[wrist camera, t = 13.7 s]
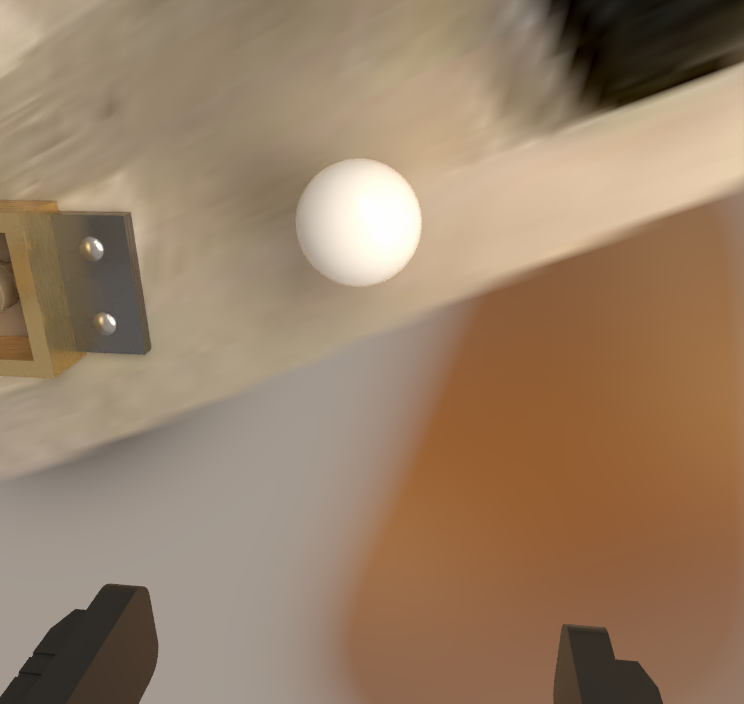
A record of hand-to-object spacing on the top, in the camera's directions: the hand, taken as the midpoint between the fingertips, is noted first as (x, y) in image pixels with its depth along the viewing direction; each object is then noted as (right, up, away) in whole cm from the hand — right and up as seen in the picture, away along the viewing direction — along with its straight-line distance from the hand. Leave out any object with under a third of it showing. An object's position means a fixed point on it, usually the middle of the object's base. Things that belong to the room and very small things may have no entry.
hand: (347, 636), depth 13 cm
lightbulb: (+1, +15, +28) cm, 32 cm away
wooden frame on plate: (-25, +10, +33) cm, 43 cm away
